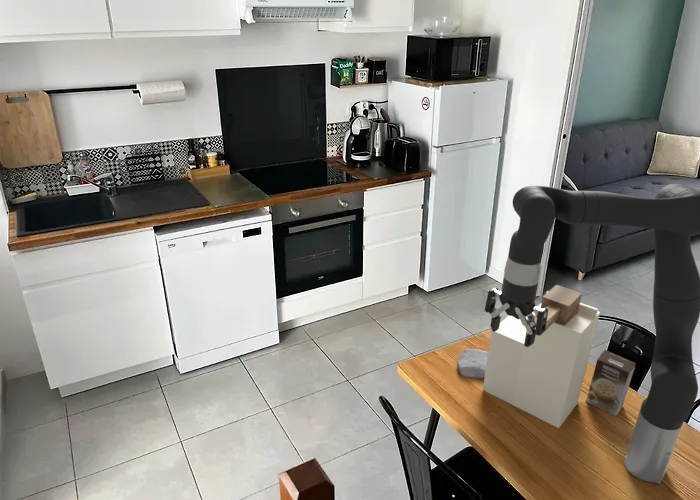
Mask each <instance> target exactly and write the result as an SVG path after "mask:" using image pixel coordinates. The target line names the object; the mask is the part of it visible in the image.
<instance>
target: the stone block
mask: <svg viewBox="0 0 700 500" xmlns="http://www.w3.org/2000/svg"><path fill="white" fill-rule="evenodd" d="M487 358H488V351H486V350H482V349H475V348H465V349H463V350H461V351H460V355H459V357H458V360H457V364H458V365H457V366H458V370H459V372H460V374H461V375H462V376H464V377H468V378H478V379H484V378H485V371H486V365H487Z"/></svg>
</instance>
